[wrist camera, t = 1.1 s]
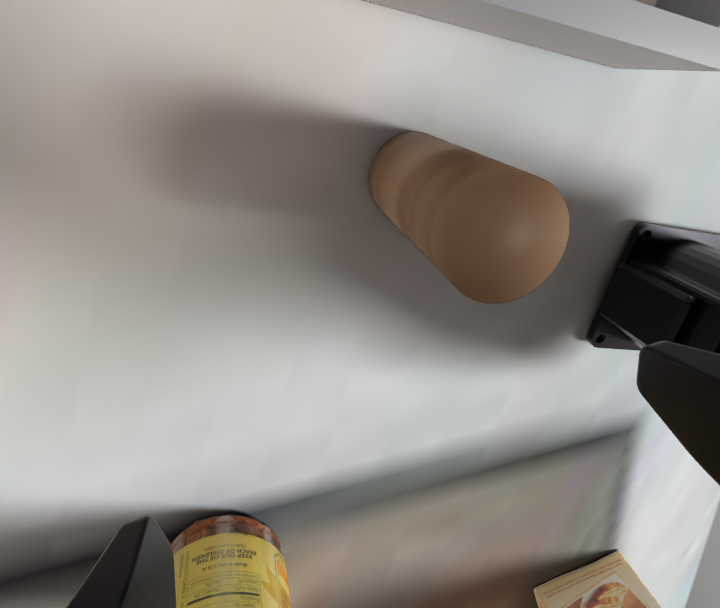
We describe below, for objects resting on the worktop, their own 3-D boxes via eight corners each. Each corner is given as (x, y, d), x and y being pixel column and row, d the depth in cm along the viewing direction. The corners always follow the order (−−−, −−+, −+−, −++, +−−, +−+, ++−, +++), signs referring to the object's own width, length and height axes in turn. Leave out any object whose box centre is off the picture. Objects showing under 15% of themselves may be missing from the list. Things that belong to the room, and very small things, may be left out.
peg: (462, 140, 20) (589, 185, 13) (439, 225, 21) (542, 308, 14) (378, 123, 19) (466, 163, 12) (360, 214, 20) (429, 297, 13)
